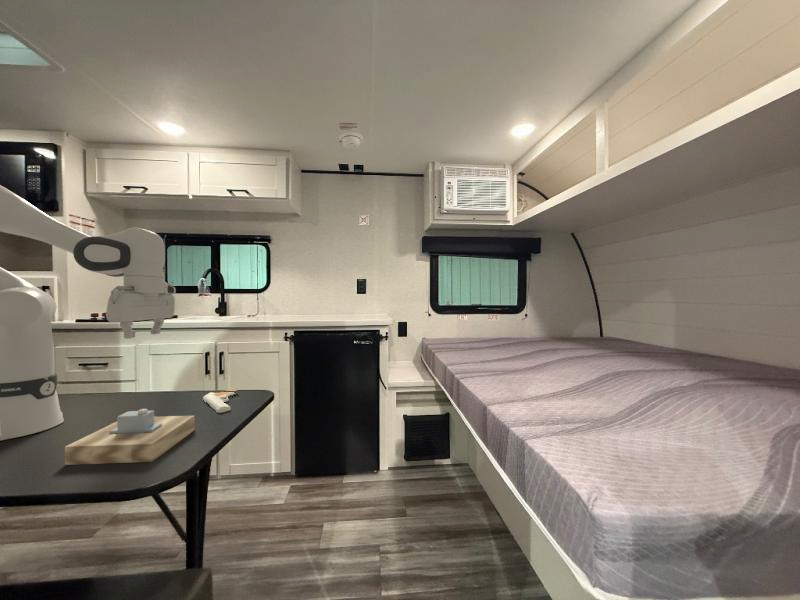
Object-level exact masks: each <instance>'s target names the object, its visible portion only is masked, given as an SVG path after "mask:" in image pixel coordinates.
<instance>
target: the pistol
mask: <svg viewBox="0 0 800 600" xmlns="http://www.w3.org/2000/svg"><path fill="white" fill-rule="evenodd" d="M225 391H237V390H235V389H232V388H229V389H226V390H225ZM233 394H235V393H234V392H223V391H221V392H211V391H210V392H208V393H207V394H205V395H204V396H202V401H203V400H204V401H203V402H205V403H206V402H207V403H208V404H209V406H210V407H211V408H212V409H213V410H215V411H216V412H215V413H219V414H222V413H226V412H229V411H231V409H232V408H231V406H230V405H229V404H227V403H224V402H226V401H228V400H230V398H228V396H230V395H233ZM228 402H229V401H228ZM207 403H206V404H207ZM208 404H207V405H208Z"/></svg>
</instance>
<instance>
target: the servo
mask: <svg viewBox="0 0 800 600" xmlns="http://www.w3.org/2000/svg"><path fill="white" fill-rule="evenodd" d="M154 417H155V410H148V408H140V409H139V410H129V411H126V412H124V413H122V414H119V415H118V416H117V417H116V418H117V421H116V422H117V427H116V428H114V429H112V430H110V431H109V434H110V433H118V434H133V433H147V432H153V431H155V430H156V429H158V428H159V427H161V426H162V423H160V424H154Z"/></svg>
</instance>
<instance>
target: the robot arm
mask: <svg viewBox="0 0 800 600" xmlns="http://www.w3.org/2000/svg"><path fill="white" fill-rule="evenodd" d="M0 232H1V233H5V234H11V235H15V236H20V237H25V238H29V239H33V240H37V241H39V242H40V241H41V242H43V243H45V244H49V245H51V246H54V247H56V248H59V249H61V250H64V251H66V252H68V253H71V254H73V258H74V261H75V262H76V263H77V264H78V265H79V266H80V267H81V268H82V269H85V270H88V271H90V272H92V273H98V274H102V275H106V276H110V277H114V278H119V277H123V285H117V286H115V287H114V288H113V289H112V290H111V292H110V295H109V297H108V301H107V306H106V312H105V313H106V314H105V316H106V317H105V318H106V320H107V321H108V322H109V323H119V326H120V328H121V330H122V332H123V338H124V339H125V340H126V339H127V340H129V339H134V338H136V331H135V330H133V328H132V326H133V325H134V324H133V323H134V322H138V321H148V320H149V321H150V320H153V321H152V322H153V325H152V327H151V328H150V334H151V335H159V334H161V328H162V326H163V324H164V322H165V319H170V318H172V317H173V316H174V314H175V311H176V310H175V305H176V300H175V299H176V298H175V296H174V295H175V294H176V292H177V290H176V289H177V288H176V287H175V286H173V285H171V284H169V283H168V282H166V281H165V274H164V266H165V262H166V258H165V257H166V253H165V251H166V249H165V243H164V239H163V237H161V236H160V235H159V234H157V233H156V232H153V231H151V230H147V229H144V228H141V227H140V228H139V227H128V228H126V229H125V230H122V231H120V232H115V233H112V234H111V233H110V234H106V235H98V236H97V235H95V236H90V235H88V234H86V233H84V232H81V231H79V230H77V229H75V228H73V227H70V226H69V225H66V224H64V223H62V222H60V221H58V220H56V219H54V218H52V217H51V216H49V215H48V214H46V212H43V211H42V210H40V209H39V208H38V207H36V206H35V205H33V204H31V203H30V202H28V201H27V200H26V199H24V198H23V197H21V196H19V195H17V194H16V193H15V192H13V191H11V190H9V189H8V188H7V187H4V186H2V185H1V184H0ZM56 311H57V302H56V301H55V299H54V297H53V296H51V294H49V293H47V292H45V291H44V290H42V289H41V288H38V287H37V286H36V285H34V284H32V283H30V282H28V281H27V280H25V279H24V278H23V279H22V278H21V277H19V276H18V275H16V274H15V273H14V274H13V273H12V272H10V271H8V270H6V269H5V268H3V267H1V266H0V442H1V441H4V440H10V439H14V438H19V437H24V436H29V435H32V434H36V433H40V432H44V431H46V430H49V429H52V428H54V427H56V426H59V425H61V424H63V422H64V421H65V419H64V417H63V415H64V414H63V411H61V410H62V409H61V407H60V401H59V396H58V391H57V386H58V374H57V373H56V372H55V369H56V366H55V364H56V363H55V362H56V360H55V345H54V337H53V329H52V320H51V319H52V317H54V315H55V314H56Z"/></svg>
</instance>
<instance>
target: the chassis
mask: <svg viewBox="0 0 800 600" xmlns="http://www.w3.org/2000/svg"><path fill="white" fill-rule="evenodd" d="M195 417H196V416H195V415H167V416H166V415H165V416H154V424H160V423H162V426H161V427H159V428H158V429H156V430H155V431H153V432H147V433H133V434H118V433H110V434H109V431H110V430H112V429H114V428H116V427H117V421H114V422H112V423H110V424H109V425H106V426H105V427H103V428H100V429H98V430H96V431H94V432H92V433H90V434H88V435H86V436H84V437H81V438H80V439H78V440H76V441H74V442H71V443H70V444H66V446H64V465H65V466H69V465H70V466H71V465H72V466H73V465H95V464H96V465H97V464H98V465H99V464H124V463H125V464H126V463H149V462H151V463H152V462H154V461H155V460H157V459H158V458H159V457H161V456H162V455H163V454H164V453H166V452H167V451H168V450H170V449H171V448H173V447H174V446H175V445H177V444H178V443H179V442H181V441H183V439H184V438H186V437H187V436H189V435H190V434H191V433H193V432H194V431H195V429H196V428H195V427H196V425H195V423H196V421H195V420H196V419H195Z"/></svg>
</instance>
